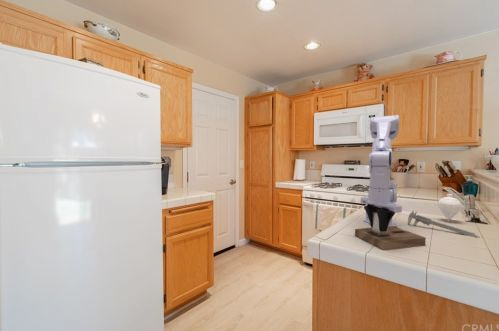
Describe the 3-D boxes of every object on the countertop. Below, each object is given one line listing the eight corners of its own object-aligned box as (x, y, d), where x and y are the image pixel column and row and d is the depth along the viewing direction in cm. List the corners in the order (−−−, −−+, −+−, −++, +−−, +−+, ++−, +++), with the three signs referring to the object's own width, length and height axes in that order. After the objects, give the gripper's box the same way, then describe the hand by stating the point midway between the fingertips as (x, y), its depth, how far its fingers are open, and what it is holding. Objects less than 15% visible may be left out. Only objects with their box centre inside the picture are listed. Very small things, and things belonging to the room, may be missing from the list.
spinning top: (466, 224, 91) (467, 195, 91) (448, 224, 91) (449, 195, 91) (449, 219, 99) (450, 192, 99) (432, 219, 99) (433, 192, 98)
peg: (372, 235, 73) (372, 211, 73) (379, 235, 74) (380, 211, 74) (379, 239, 71) (380, 214, 70) (387, 238, 71) (387, 213, 71)
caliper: (407, 225, 90) (408, 210, 90) (408, 225, 91) (408, 210, 91) (479, 238, 76) (480, 220, 76) (479, 237, 77) (480, 220, 77)
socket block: (354, 236, 77) (355, 228, 77) (392, 232, 81) (392, 225, 81) (383, 250, 66) (383, 241, 65) (425, 245, 69) (425, 237, 69)
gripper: (353, 185, 78) (352, 223, 78) (388, 191, 64) (387, 238, 64) (370, 184, 79) (369, 222, 80) (408, 191, 65) (406, 236, 66)
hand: (378, 229), depth 72 cm, fingers closed on peg, 3 cm apart
